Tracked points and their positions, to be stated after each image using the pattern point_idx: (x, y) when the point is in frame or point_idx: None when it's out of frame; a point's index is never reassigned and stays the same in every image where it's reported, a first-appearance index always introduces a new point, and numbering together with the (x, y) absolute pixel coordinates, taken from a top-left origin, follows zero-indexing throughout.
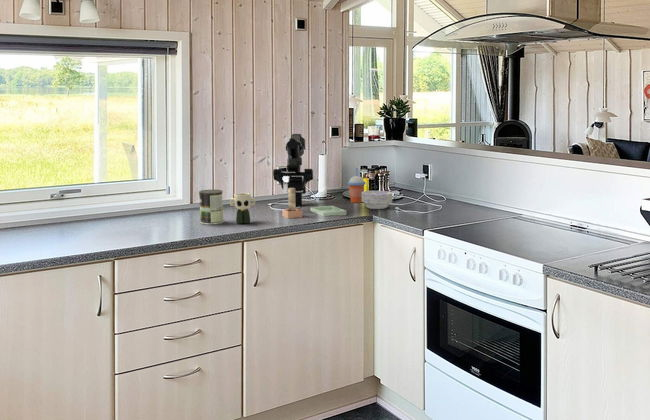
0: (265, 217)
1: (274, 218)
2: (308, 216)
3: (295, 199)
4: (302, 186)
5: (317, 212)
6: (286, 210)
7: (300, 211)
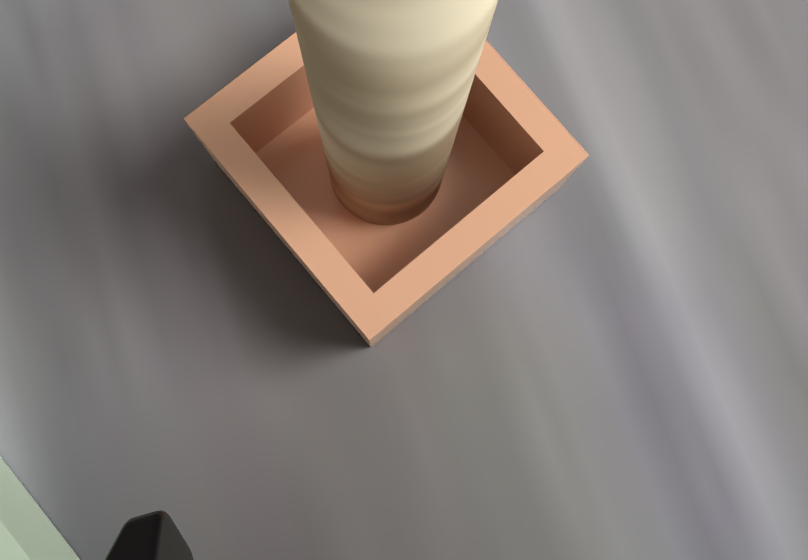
0: (794, 110)
1: (631, 65)
2: (161, 333)
3: (304, 66)
4: (135, 556)
5: (27, 521)
6: (511, 180)
7: (215, 100)
